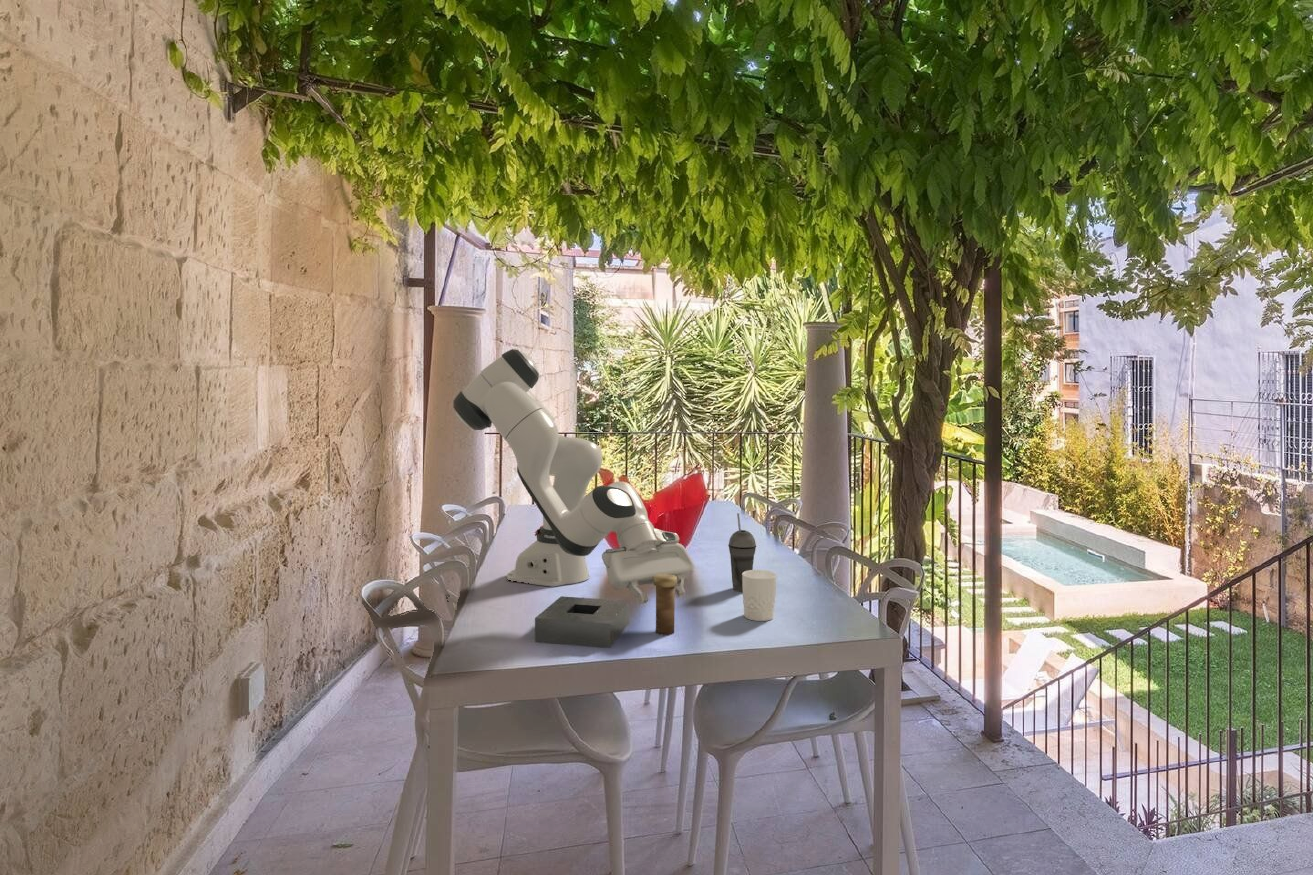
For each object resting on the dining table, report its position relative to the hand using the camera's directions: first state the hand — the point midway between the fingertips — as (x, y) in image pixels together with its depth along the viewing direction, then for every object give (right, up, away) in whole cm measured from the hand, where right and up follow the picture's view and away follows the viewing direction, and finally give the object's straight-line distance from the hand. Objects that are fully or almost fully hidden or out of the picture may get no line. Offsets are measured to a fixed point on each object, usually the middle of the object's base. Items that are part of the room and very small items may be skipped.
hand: (663, 598), depth 156 cm
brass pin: (0, -7, +1) cm, 7 cm away
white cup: (+22, -7, +11) cm, 26 cm away
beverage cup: (+21, -5, +34) cm, 40 cm away
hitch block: (-17, -7, 0) cm, 19 cm away
